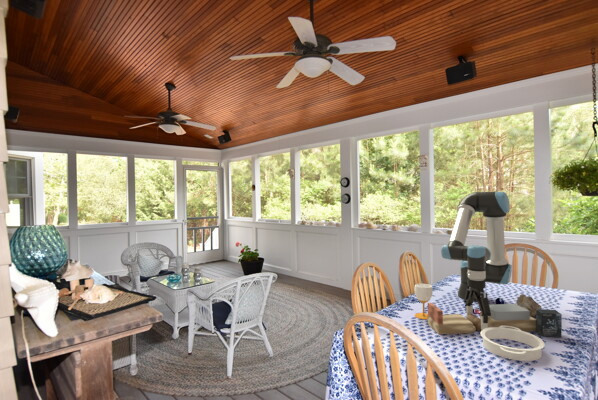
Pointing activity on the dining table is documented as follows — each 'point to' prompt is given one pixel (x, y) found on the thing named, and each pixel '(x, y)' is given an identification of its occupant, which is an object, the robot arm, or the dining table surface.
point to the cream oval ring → (516, 336)
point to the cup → (423, 297)
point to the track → (463, 325)
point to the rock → (528, 304)
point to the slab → (508, 312)
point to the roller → (475, 321)
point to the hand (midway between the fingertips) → (476, 324)
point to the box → (548, 323)
